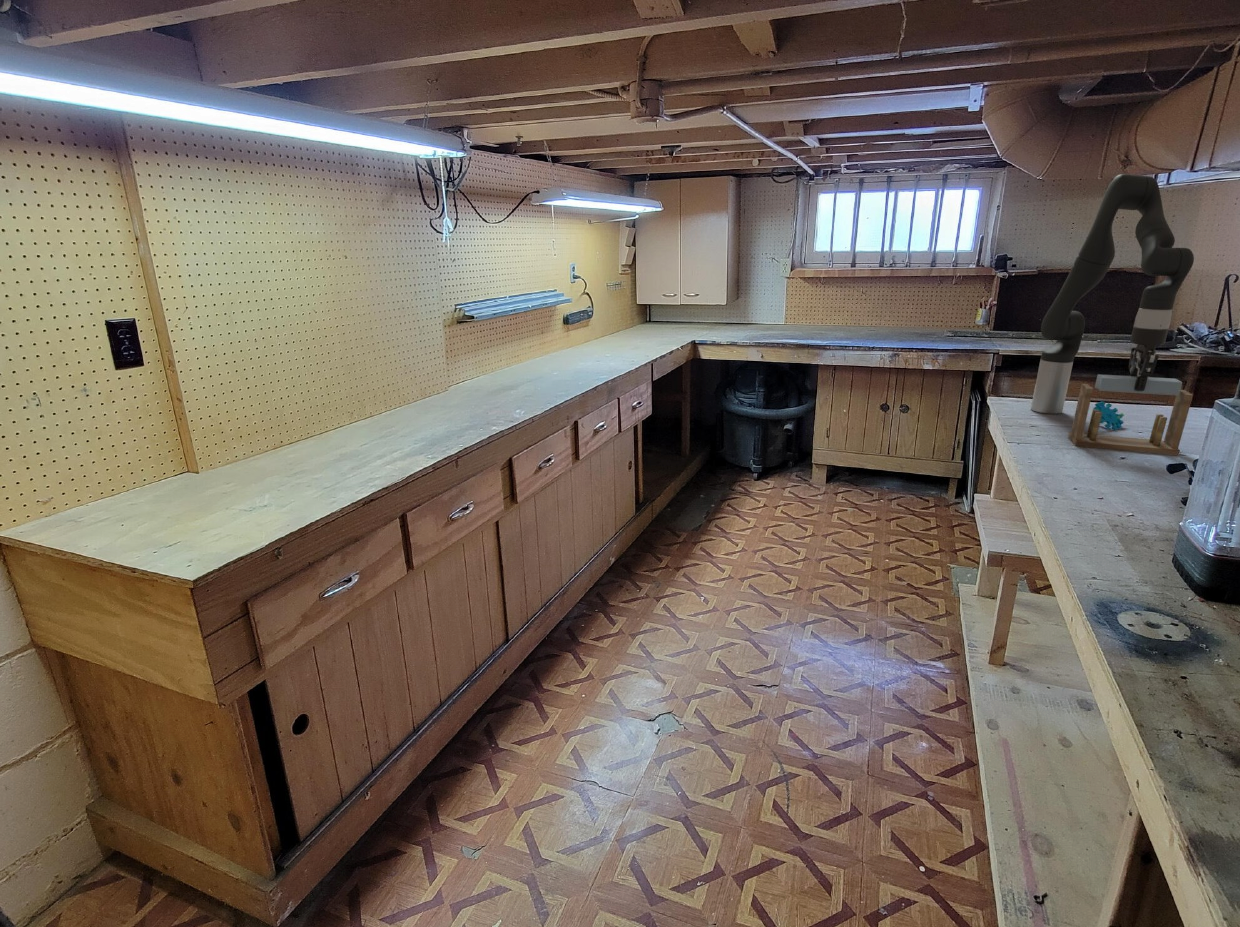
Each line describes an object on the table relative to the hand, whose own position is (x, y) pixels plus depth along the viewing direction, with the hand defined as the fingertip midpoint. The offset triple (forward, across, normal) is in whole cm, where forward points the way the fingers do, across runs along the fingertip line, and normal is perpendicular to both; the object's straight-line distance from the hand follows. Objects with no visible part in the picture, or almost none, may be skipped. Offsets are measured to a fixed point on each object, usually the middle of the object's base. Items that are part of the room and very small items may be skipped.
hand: (1135, 388), depth 184 cm
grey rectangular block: (+1, 0, 0) cm, 1 cm away
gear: (+17, +22, -2) cm, 28 cm away
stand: (+17, 0, 0) cm, 17 cm away
